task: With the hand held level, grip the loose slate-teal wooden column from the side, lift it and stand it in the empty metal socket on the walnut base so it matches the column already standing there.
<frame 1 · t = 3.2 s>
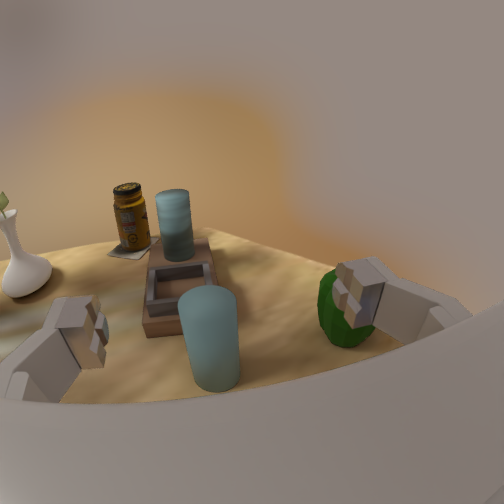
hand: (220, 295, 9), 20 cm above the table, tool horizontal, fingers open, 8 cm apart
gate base: (182, 286, 43), on the table
flower in vase: (28, 288, 42), on the table
bell pepper: (344, 334, 35), on the table
condiment: (134, 248, 54), on the table
column: (216, 373, 30), on the table
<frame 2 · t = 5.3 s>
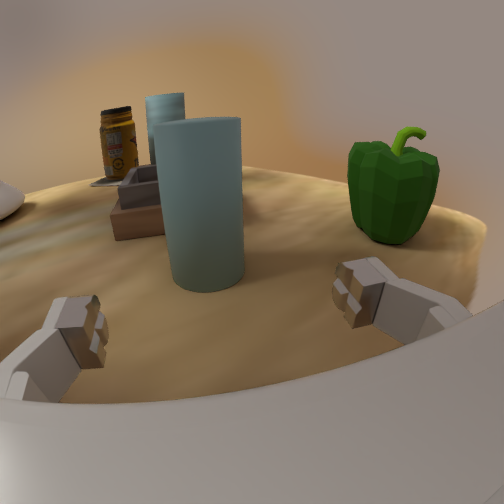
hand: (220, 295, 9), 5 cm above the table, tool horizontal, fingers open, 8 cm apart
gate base: (170, 198, 34), on the table
bell pepper: (384, 234, 25), on the table
condiment: (119, 179, 45), on the table
column: (208, 270, 20), on the table
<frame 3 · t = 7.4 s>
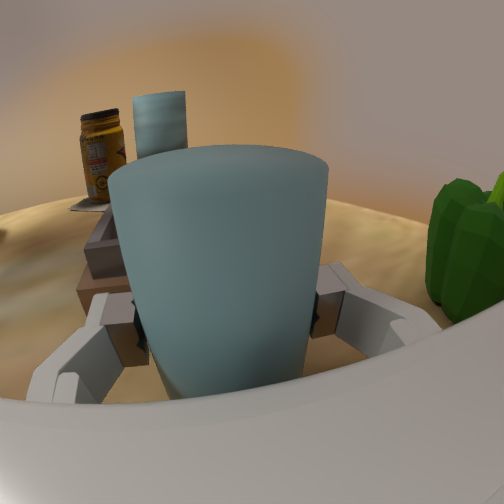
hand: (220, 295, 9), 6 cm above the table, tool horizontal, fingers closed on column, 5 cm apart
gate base: (168, 239, 25), on the table
bell pepper: (460, 307, 17), on the table
condiment: (105, 200, 36), on the table
column: (235, 406, 11), on the table, touching gripper
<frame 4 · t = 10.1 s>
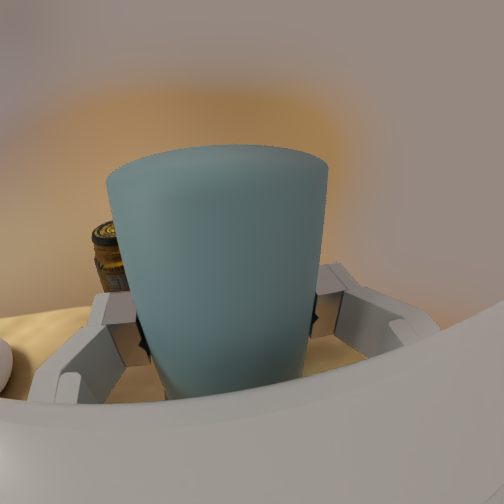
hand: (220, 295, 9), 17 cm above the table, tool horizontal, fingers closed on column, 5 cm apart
condiment: (134, 321, 34), on the table
column: (235, 407, 11), point 12 cm above the table, touching gripper
when the fingers open (9 cm above the table, at t = 12.4 s): column stays where it is, resting on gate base.
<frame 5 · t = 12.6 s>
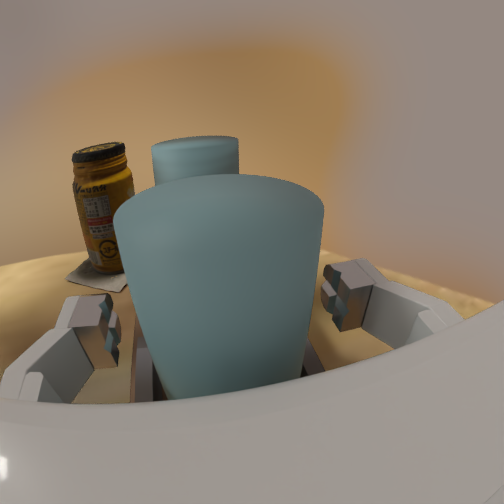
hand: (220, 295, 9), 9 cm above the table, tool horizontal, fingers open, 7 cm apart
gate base: (221, 368, 17), on the table
condiment: (113, 266, 28), on the table
column: (235, 416, 12), point 3 cm above the table, touching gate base
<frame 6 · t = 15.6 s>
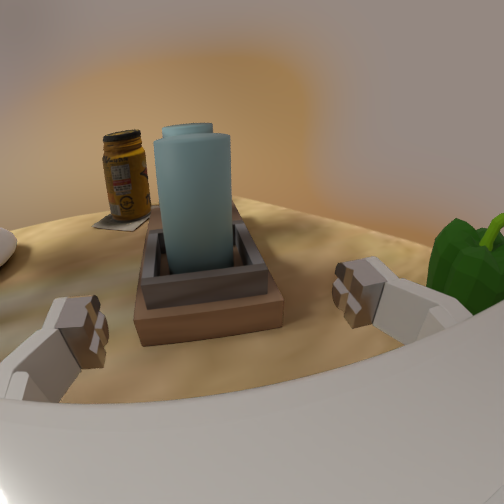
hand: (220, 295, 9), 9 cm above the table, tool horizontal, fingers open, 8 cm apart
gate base: (199, 263, 28), on the table
bell pepper: (453, 325, 20), on the table
condiment: (128, 218, 39), on the table
column: (201, 269, 23), point 3 cm above the table, touching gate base
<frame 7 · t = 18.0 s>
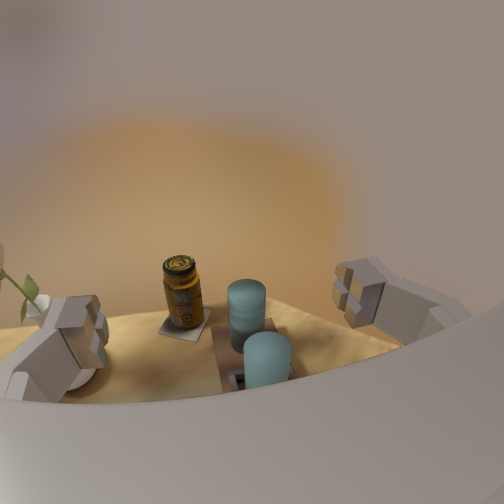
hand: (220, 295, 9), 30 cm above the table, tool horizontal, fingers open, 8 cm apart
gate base: (256, 379, 40), on the table
flower in vase: (71, 373, 38), on the table
condiment: (185, 323, 51), on the table
column: (265, 398, 35), point 3 cm above the table, touching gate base
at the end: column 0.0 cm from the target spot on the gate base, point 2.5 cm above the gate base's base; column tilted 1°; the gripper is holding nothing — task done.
